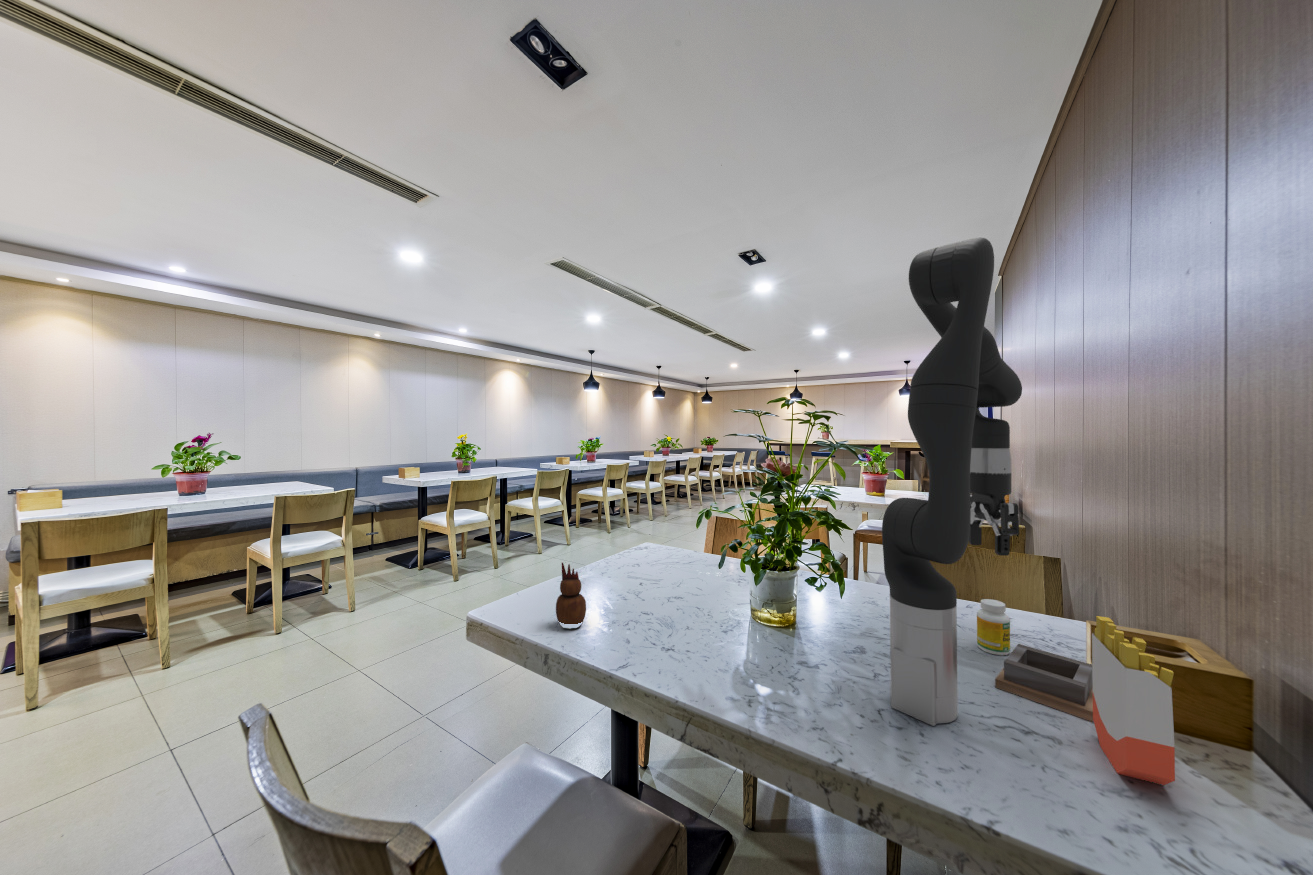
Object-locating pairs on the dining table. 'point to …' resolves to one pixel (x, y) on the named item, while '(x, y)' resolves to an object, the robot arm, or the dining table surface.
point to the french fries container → (1132, 706)
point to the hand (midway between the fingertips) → (987, 549)
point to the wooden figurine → (570, 599)
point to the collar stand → (1049, 680)
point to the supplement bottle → (993, 627)
